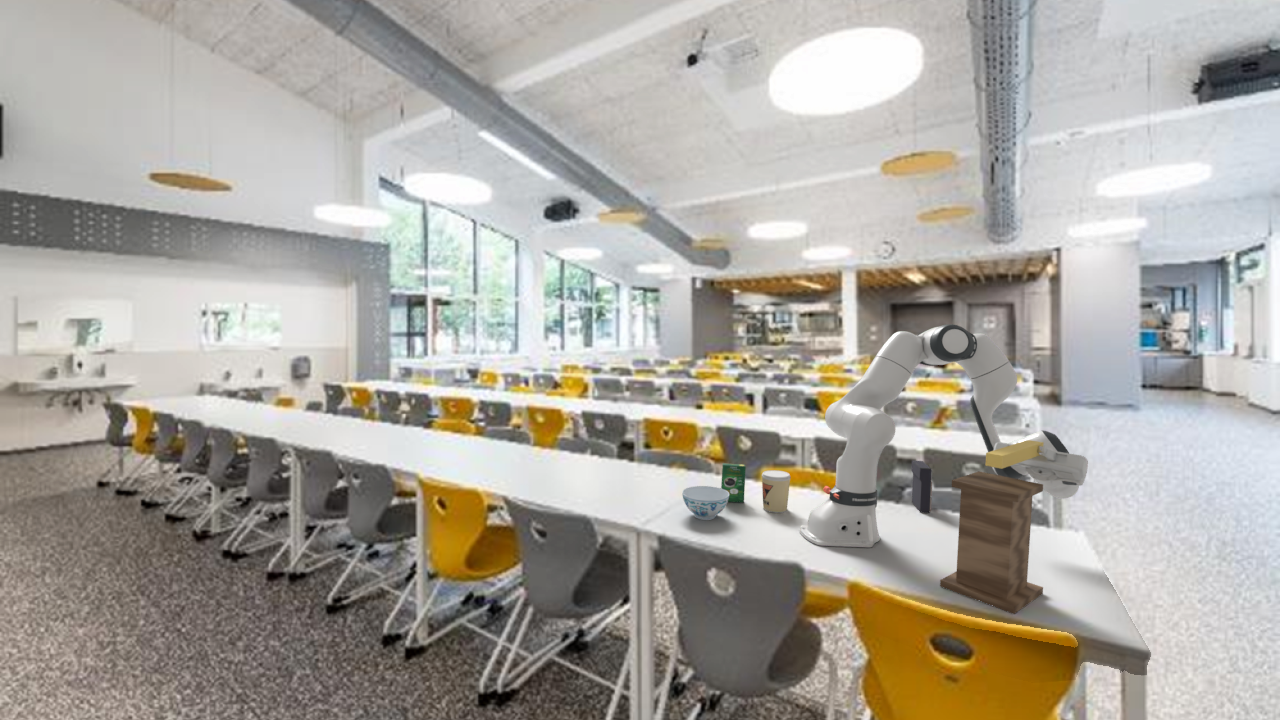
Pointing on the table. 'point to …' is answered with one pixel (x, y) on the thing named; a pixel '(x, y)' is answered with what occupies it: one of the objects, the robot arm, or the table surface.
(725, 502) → the chinaware
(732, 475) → the coffee box
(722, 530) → the table surface
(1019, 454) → the mustard bar
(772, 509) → the coffee cup
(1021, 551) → the walnut stand
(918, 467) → the dark grey upright block
